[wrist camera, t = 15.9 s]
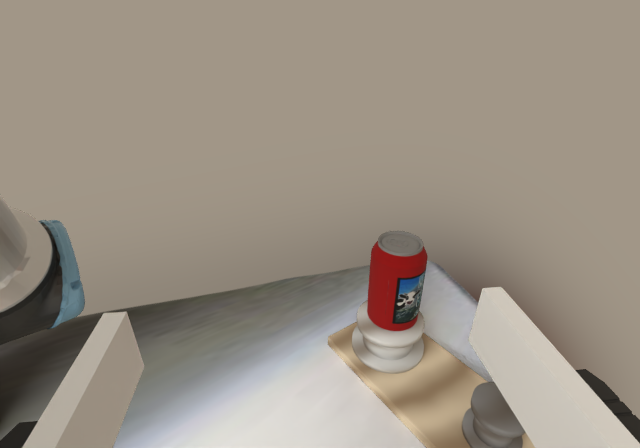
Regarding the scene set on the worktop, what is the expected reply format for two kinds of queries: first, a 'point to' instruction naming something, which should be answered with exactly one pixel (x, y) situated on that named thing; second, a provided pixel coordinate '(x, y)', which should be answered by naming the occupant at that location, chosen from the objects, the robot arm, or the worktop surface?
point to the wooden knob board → (428, 387)
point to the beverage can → (396, 280)
